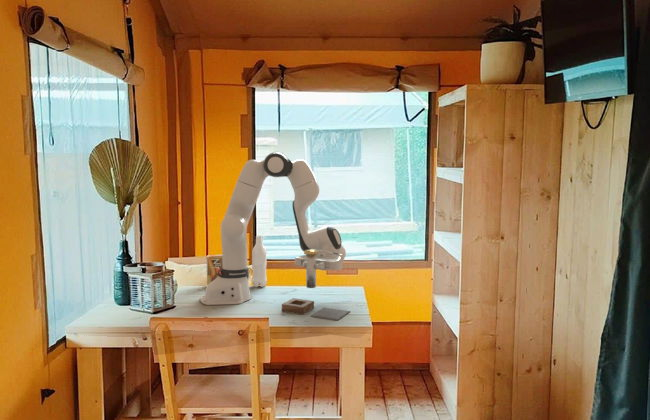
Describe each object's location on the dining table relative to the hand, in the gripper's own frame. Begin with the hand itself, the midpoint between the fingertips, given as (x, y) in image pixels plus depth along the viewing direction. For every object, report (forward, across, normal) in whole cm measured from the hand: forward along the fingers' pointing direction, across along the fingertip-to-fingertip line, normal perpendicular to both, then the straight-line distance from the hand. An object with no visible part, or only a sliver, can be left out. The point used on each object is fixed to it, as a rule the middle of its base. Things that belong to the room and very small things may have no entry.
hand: (310, 266), depth 215 cm
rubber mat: (0, +9, +19) cm, 21 cm away
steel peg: (-1, 0, +9) cm, 9 cm away
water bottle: (-26, -41, +19) cm, 53 cm away
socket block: (0, -6, +19) cm, 20 cm away
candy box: (-17, -60, +19) cm, 66 cm away
